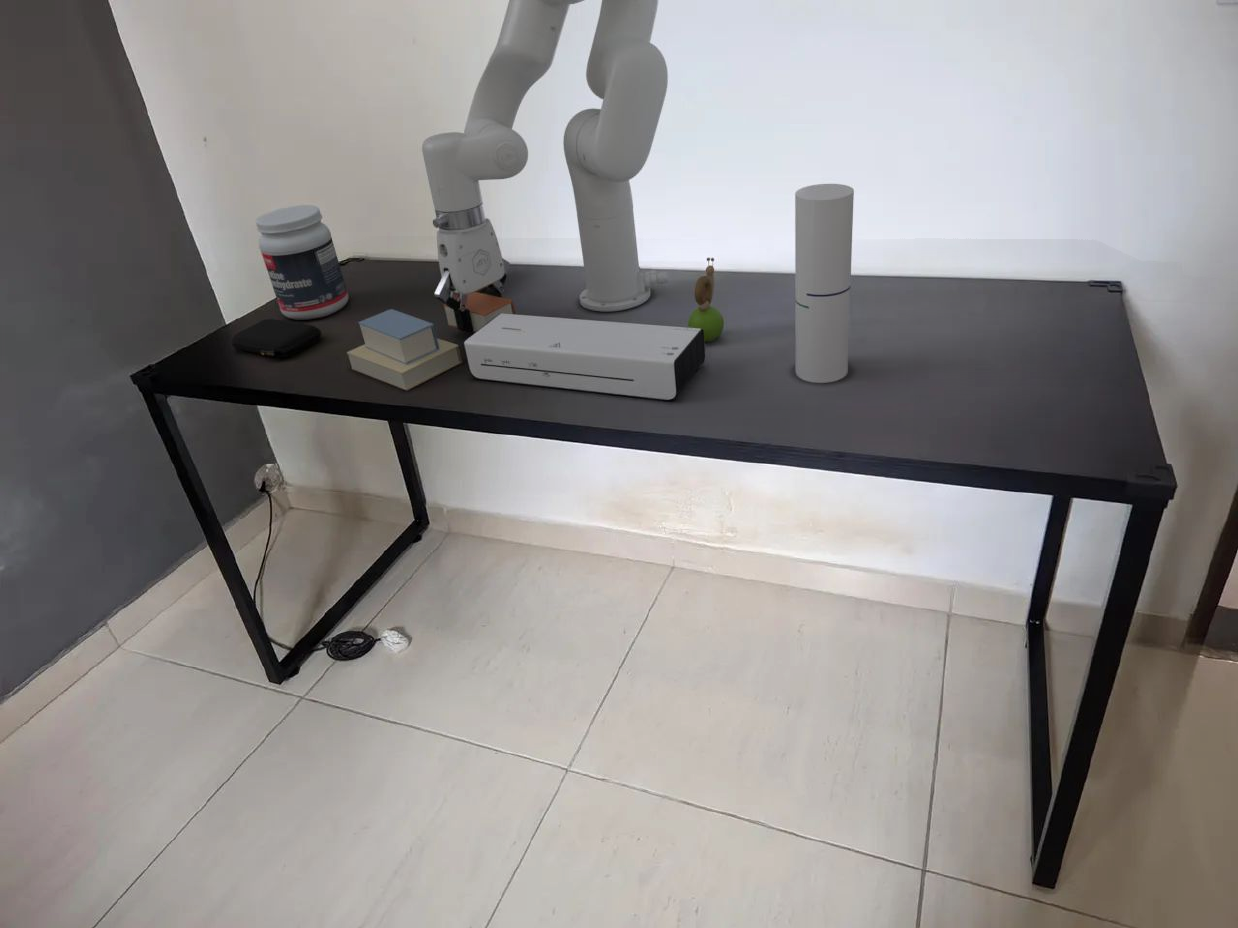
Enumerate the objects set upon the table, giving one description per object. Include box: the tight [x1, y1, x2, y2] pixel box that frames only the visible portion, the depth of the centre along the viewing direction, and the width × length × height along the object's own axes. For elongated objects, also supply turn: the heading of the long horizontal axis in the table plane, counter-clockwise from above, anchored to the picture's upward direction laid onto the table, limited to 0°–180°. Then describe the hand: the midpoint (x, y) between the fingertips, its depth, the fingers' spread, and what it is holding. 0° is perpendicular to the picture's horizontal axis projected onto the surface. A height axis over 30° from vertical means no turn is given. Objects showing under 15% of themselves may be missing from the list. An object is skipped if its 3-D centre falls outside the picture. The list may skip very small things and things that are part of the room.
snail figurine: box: [687, 257, 725, 343], centre depth 132 cm, size 5×6×12 cm
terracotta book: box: [442, 292, 517, 334], centre depth 145 cm, size 10×7×4 cm, turn 51°
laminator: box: [462, 313, 706, 402], centre depth 128 cm, size 34×12×6 cm, turn 65°
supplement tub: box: [255, 204, 349, 321], centre depth 161 cm, size 13×13×18 cm
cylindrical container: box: [794, 183, 855, 384], centre depth 115 cm, size 7×7×25 cm
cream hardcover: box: [346, 338, 463, 391], centre depth 138 cm, size 15×11×3 cm
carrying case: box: [231, 318, 322, 358], centre depth 151 cm, size 11×3×15 cm
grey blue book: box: [358, 308, 440, 365], centre depth 136 cm, size 12×6×4 cm, turn 45°
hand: (481, 322), depth 146 cm, fingers closed on terracotta book, 6 cm apart
